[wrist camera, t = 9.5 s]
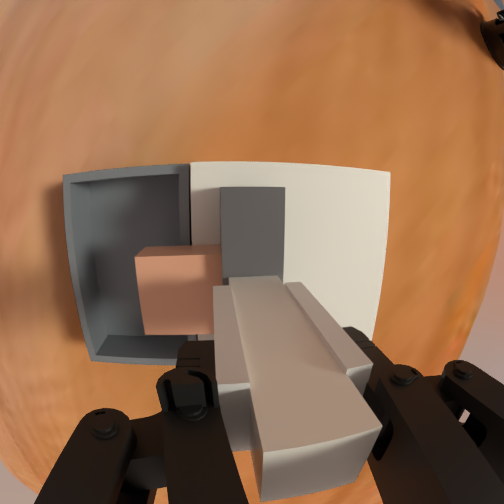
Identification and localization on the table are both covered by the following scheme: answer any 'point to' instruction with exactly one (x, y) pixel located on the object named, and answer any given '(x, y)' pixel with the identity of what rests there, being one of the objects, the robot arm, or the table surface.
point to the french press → (495, 37)
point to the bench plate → (312, 228)
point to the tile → (178, 288)
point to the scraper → (287, 361)
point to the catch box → (123, 253)
